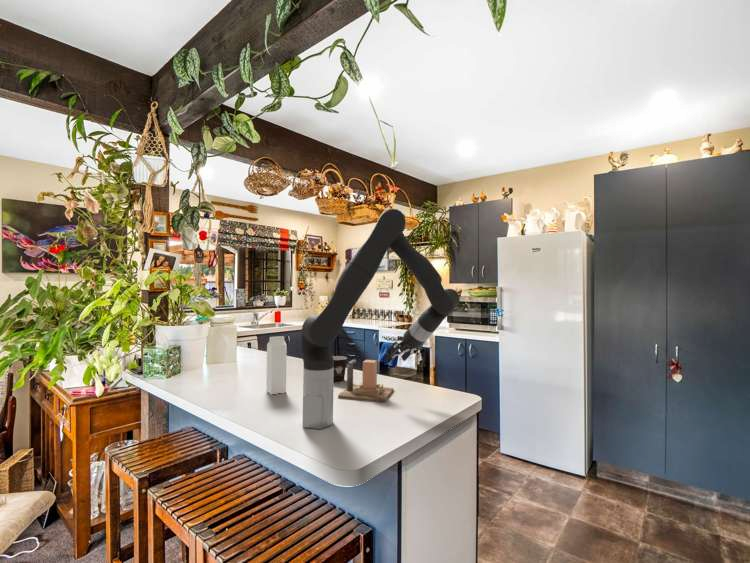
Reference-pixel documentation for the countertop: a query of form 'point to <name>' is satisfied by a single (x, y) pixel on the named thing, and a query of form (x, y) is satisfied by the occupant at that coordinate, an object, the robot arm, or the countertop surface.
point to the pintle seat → (363, 394)
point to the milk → (276, 365)
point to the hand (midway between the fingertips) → (394, 360)
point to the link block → (369, 374)
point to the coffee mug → (339, 368)
